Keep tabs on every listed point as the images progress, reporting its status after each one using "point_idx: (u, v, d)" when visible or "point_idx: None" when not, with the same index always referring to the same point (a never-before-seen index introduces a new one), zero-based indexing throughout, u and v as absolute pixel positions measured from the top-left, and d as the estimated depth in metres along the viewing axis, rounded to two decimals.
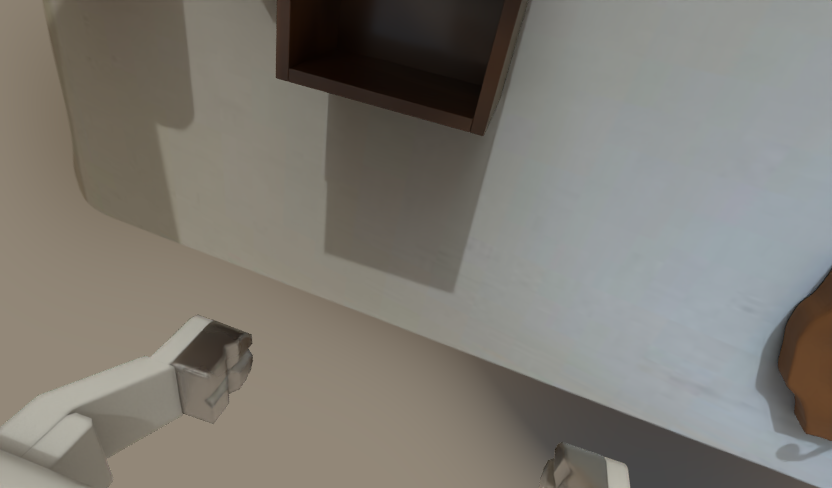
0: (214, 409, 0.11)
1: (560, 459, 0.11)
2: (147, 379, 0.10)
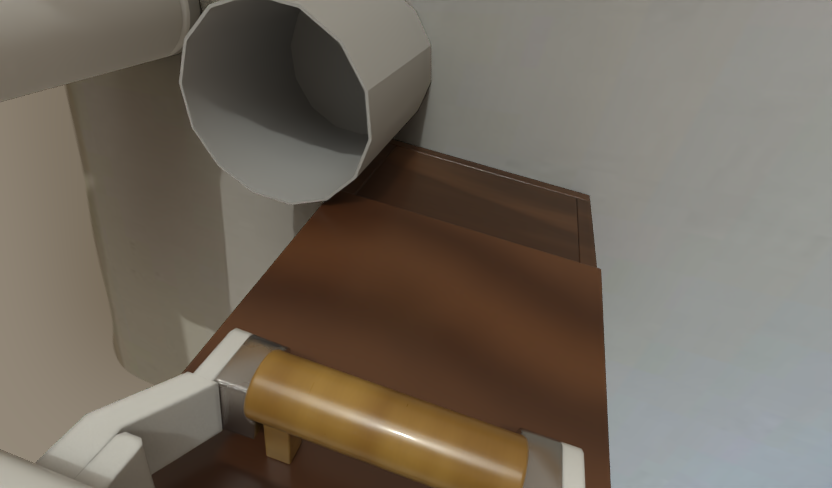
0: (255, 425, 0.11)
1: None
2: (193, 396, 0.10)
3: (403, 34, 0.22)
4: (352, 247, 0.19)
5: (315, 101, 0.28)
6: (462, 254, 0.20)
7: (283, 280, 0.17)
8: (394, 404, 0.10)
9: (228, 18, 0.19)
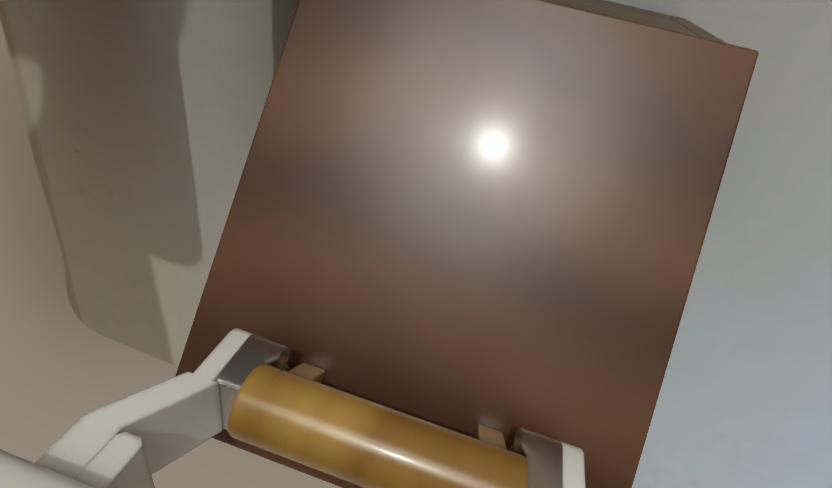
0: None
1: (518, 444, 0.11)
2: (193, 396, 0.10)
3: None
4: (354, 80, 0.13)
5: None
6: (518, 62, 0.13)
7: (273, 158, 0.13)
8: (375, 455, 0.09)
9: None
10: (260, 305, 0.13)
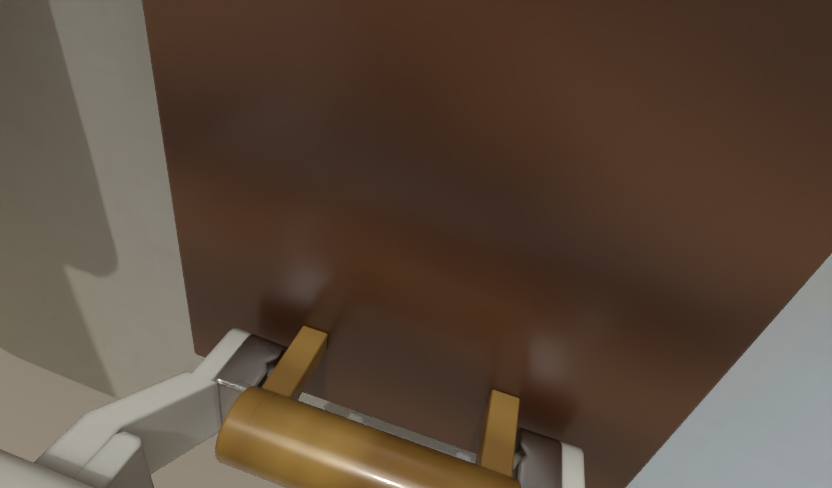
0: None
1: (517, 444, 0.11)
2: (192, 395, 0.10)
3: None
4: None
5: None
6: None
7: (189, 101, 0.09)
8: None
9: None
10: (242, 272, 0.12)
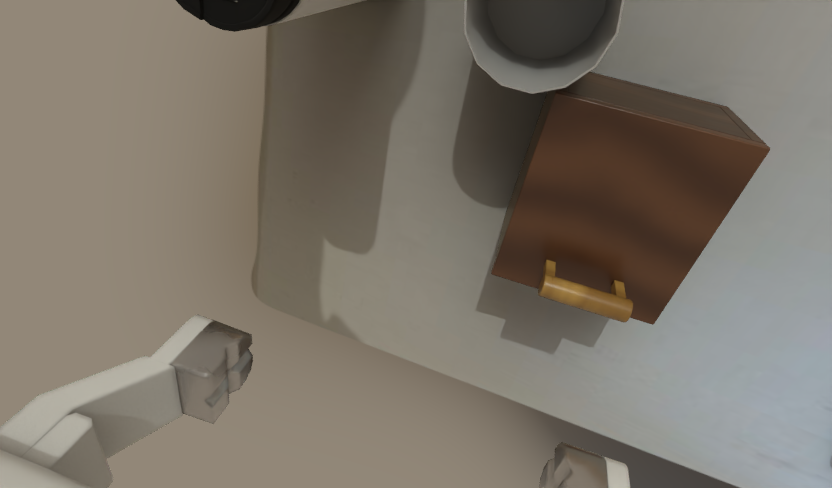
0: (214, 409, 0.11)
1: (560, 459, 0.11)
2: (148, 379, 0.10)
3: None
4: (571, 156, 0.30)
5: (501, 32, 0.34)
6: (651, 151, 0.29)
7: (534, 188, 0.32)
8: (586, 303, 0.31)
9: None
10: (529, 240, 0.34)
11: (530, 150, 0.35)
